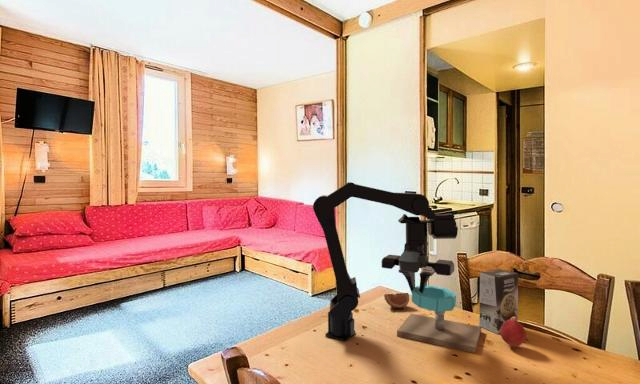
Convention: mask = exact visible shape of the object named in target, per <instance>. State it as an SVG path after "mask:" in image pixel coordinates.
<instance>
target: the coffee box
mask: <svg viewBox="0 0 640 384" xmlns="http://www.w3.org/2000/svg"><path fill="white" fill-rule="evenodd" d="M518 306H519V273H518V272H514V271H510V270H504V269H500V268H497V269H494V270H487V271H483V272H481V271H480V273H479V309H478V310H479V311H478V312H479V313H478V315H479V317H478V326H480V327H481V328H483V329H485V330H488V331H490V332H492V333H494V334H496V335H499V334H500V329H501V326H502V324H503V323H504V322H506V321H507V320H509V319H511V318H512V317H516V321H518V319H519V318H518V317H519V315H518V312H519V307H518ZM518 322H519V321H518Z"/></svg>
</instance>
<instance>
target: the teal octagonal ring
mask: <svg viewBox="0 0 640 384" xmlns="http://www.w3.org/2000/svg"><path fill="white" fill-rule="evenodd" d="M419 290H420V285H415V288H414V289H413V290H412V292H411V302H412V303H413V304H414V305H415V306H417V307H418V308H420V309H424V310H427V311H432V312H435V311H437V312H441V311H445V312H452V311H453V310H454V309H455V307H456V304H457V303H456V302H457V294H456V293H454V291H451V290H450V289H448V288H445V287H439V286H434V285H426V286H425V289H424V292H423V294H422V293H421V292H419Z"/></svg>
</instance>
